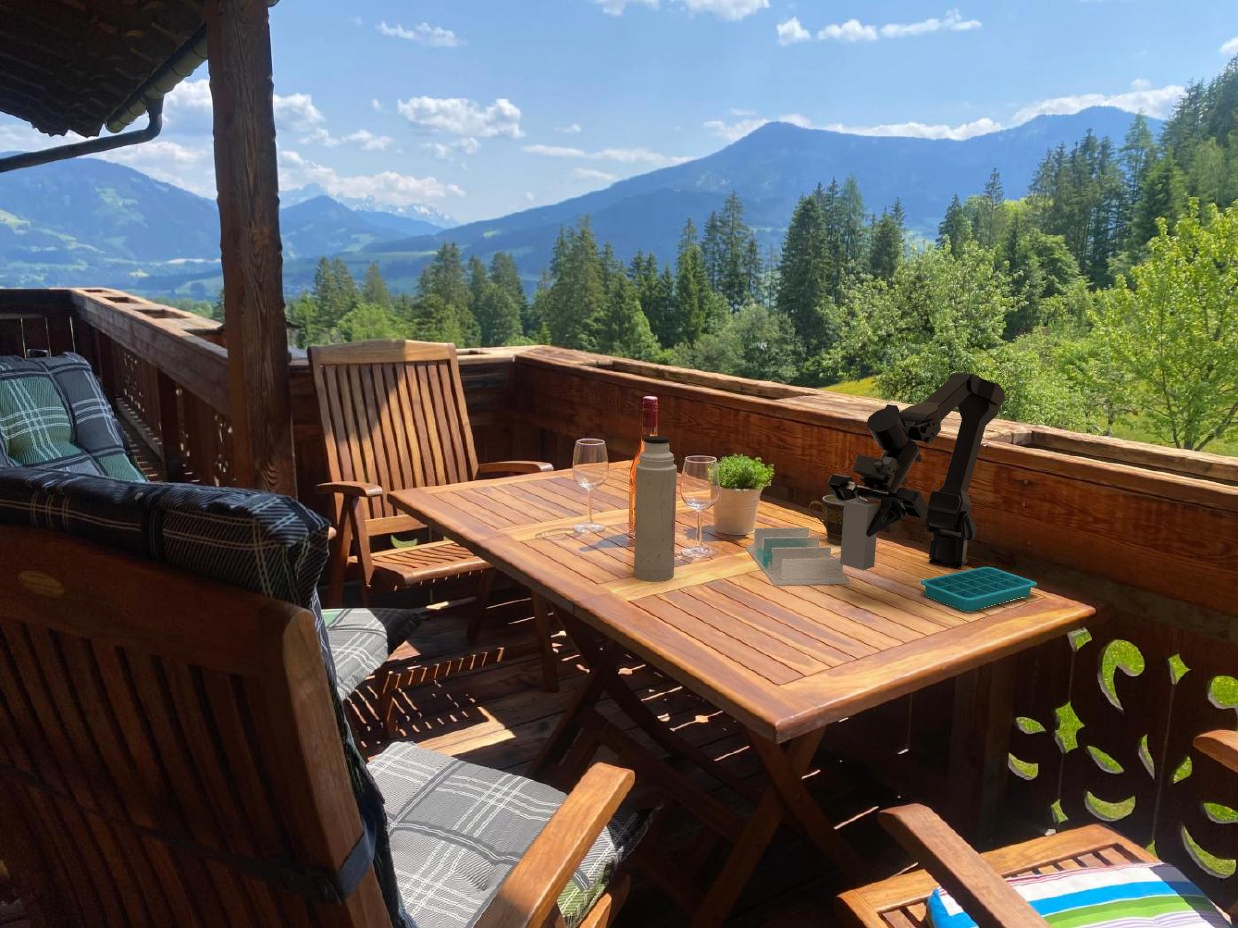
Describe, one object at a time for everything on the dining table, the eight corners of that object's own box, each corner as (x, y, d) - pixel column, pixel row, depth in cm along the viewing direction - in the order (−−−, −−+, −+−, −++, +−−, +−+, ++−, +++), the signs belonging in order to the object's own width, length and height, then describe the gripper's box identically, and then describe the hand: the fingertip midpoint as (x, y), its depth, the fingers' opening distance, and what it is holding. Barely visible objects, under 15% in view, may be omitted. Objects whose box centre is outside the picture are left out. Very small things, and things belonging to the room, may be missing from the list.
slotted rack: (812, 548, 190) (814, 526, 189) (849, 583, 167) (851, 559, 166) (746, 549, 189) (747, 527, 188) (774, 585, 166) (776, 560, 165)
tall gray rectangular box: (851, 560, 161) (855, 498, 159) (874, 566, 158) (879, 503, 155) (840, 563, 159) (844, 501, 157) (863, 570, 155) (867, 506, 153)
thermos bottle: (676, 570, 174) (680, 434, 169) (670, 582, 167) (674, 441, 161) (637, 566, 176) (640, 432, 170) (630, 579, 168) (633, 439, 162)
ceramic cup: (860, 536, 200) (863, 495, 198) (868, 549, 190) (871, 505, 188) (804, 534, 201) (806, 493, 199) (809, 546, 191) (811, 503, 189)
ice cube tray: (915, 596, 162) (916, 581, 162) (986, 580, 172) (987, 565, 171) (966, 616, 152) (968, 600, 152) (1038, 598, 162) (1040, 583, 161)
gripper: (835, 432, 163) (796, 496, 158) (925, 446, 149) (884, 517, 144) (857, 467, 170) (819, 530, 165) (944, 484, 156) (906, 553, 151)
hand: (855, 532), depth 156 cm, fingers closed on tall gray rectangular box, 5 cm apart
